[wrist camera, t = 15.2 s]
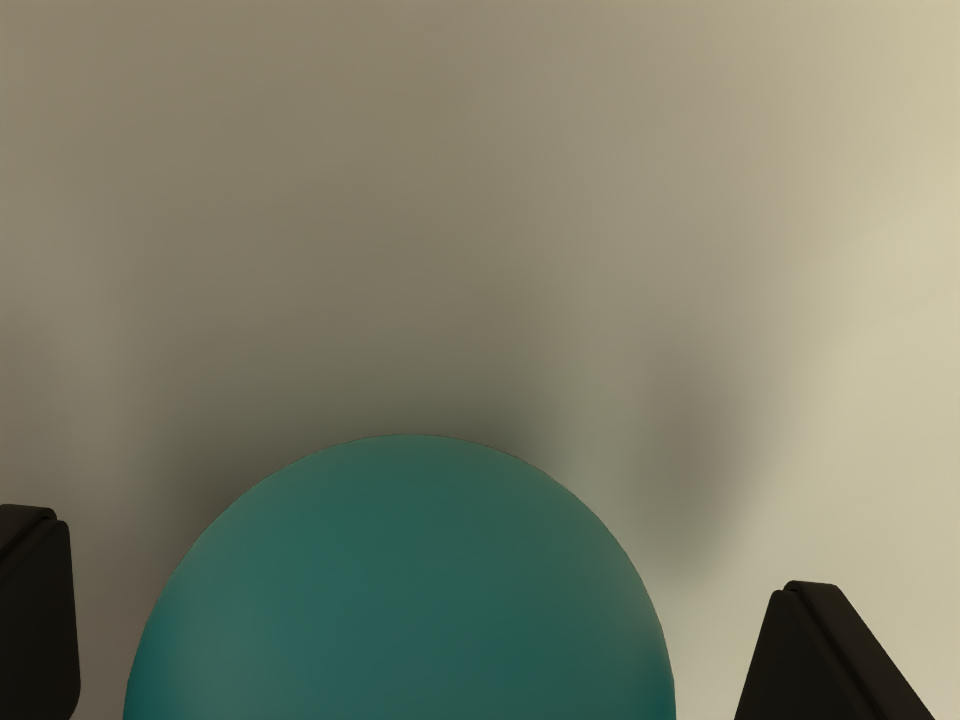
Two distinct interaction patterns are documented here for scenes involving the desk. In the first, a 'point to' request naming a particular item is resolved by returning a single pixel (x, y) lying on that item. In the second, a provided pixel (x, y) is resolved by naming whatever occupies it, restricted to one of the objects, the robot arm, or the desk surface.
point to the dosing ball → (404, 599)
